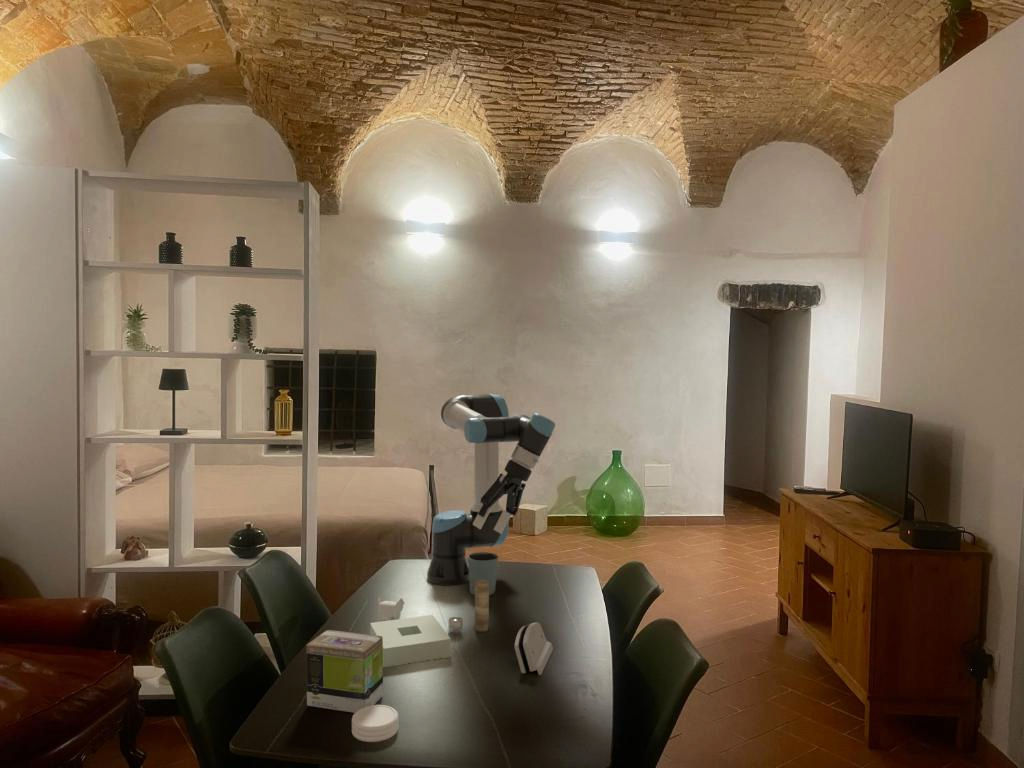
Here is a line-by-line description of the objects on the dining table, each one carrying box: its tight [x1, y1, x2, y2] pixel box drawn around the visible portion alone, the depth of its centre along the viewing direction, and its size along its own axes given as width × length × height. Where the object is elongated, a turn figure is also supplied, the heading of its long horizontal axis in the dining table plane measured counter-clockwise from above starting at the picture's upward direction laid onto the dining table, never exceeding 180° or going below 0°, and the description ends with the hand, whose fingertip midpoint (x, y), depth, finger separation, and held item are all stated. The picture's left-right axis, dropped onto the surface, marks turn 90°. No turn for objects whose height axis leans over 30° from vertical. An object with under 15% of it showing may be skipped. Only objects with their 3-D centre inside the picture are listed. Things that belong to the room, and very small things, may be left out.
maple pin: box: [474, 580, 490, 633], centre depth 215 cm, size 4×4×14 cm
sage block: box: [369, 614, 452, 668], centre depth 201 cm, size 18×18×5 cm
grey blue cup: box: [467, 551, 499, 596], centre depth 247 cm, size 10×10×12 cm
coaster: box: [351, 704, 400, 743], centre depth 160 cm, size 10×10×4 cm
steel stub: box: [447, 616, 463, 637], centre depth 213 cm, size 4×4×4 cm
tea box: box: [305, 629, 384, 714], centre depth 172 cm, size 15×10×15 cm
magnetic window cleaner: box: [514, 622, 554, 676], centre depth 195 cm, size 17×5×10 cm, turn 165°
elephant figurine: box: [376, 595, 405, 622], centre depth 220 cm, size 8×10×7 cm
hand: (487, 529), depth 214 cm, fingers open, 13 cm apart
